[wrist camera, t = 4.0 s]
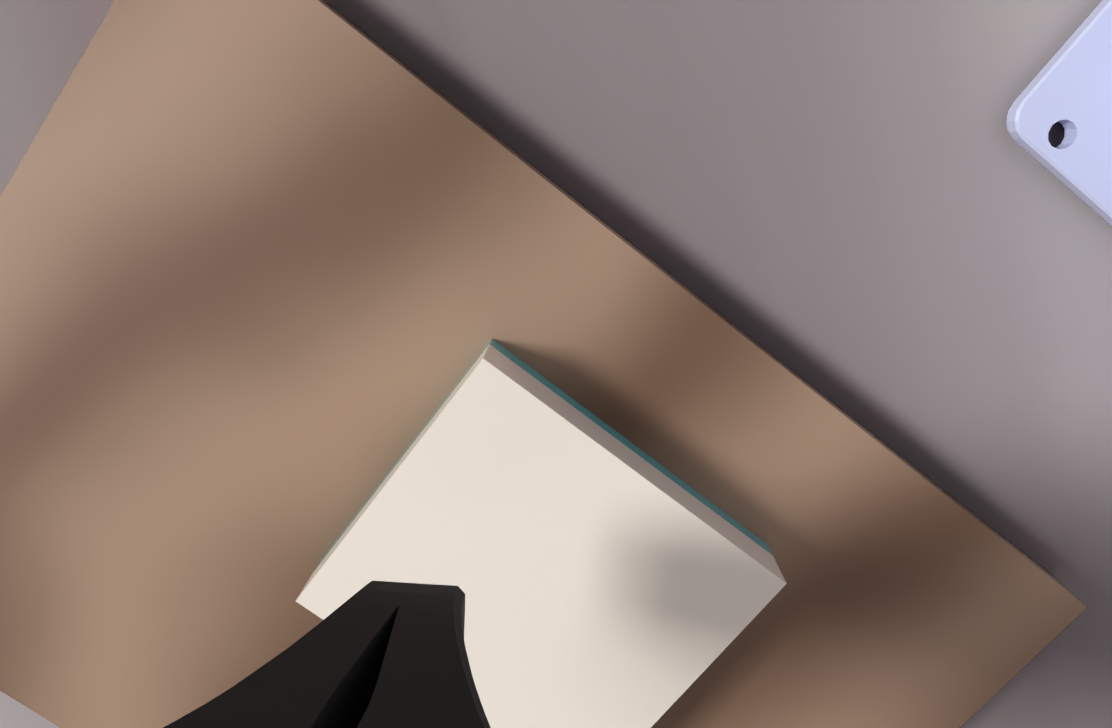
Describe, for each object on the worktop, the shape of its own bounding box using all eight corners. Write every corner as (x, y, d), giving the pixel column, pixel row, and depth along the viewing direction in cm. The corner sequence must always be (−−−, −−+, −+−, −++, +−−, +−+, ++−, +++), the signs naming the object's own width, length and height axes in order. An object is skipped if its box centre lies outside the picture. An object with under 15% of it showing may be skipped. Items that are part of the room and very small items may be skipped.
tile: (492, 338, 16) (767, 544, 17) (320, 560, 17) (585, 740, 18) (483, 358, 14) (786, 582, 15) (295, 601, 16) (586, 795, 17)
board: (1054, 577, 18) (1087, 607, 17) (603, 1013, 21) (605, 1062, 20) (208, -89, 15) (178, -110, 14) (-162, 535, 19) (-212, 560, 17)
